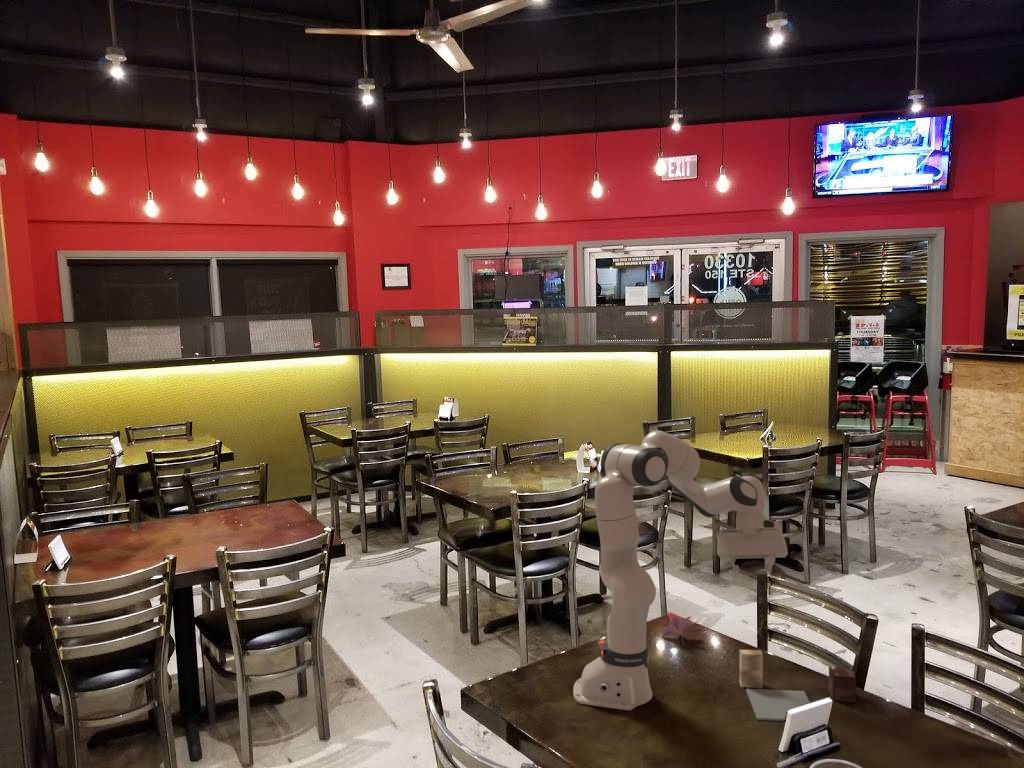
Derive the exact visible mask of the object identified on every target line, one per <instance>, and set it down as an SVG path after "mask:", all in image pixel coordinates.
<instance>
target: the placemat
mask: <svg viewBox="0 0 1024 768" xmlns="http://www.w3.org/2000/svg"><path fill="white" fill-rule="evenodd" d="M745 691H746V694H747V697H748V699H749V703H750V704H751V707H752V710H753V713H754V716H755V717H756V719H757V721H772V722H785V721H784V720H785V716H786V712H787V710H788V709H791V708H795V707H798V706H801V705H804V704H807V703H811V701H810V699H809V698H808V696H807V694H806V692H805V690H785V689H782V690H781V689H763V688H746V690H745Z"/></svg>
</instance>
